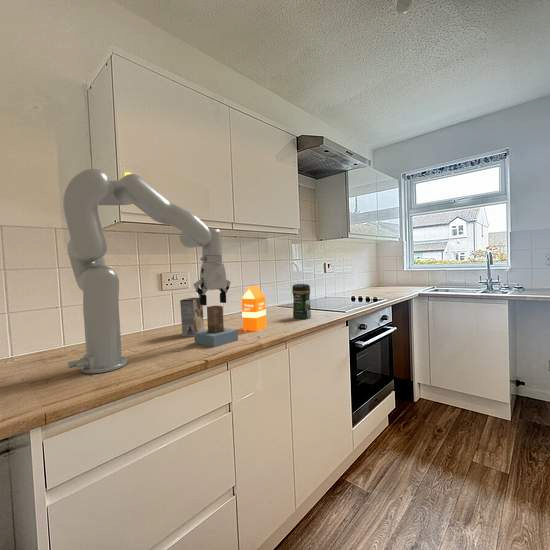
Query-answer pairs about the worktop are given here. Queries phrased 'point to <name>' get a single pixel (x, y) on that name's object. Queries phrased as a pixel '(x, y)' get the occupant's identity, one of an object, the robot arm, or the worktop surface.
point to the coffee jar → (301, 301)
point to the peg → (215, 319)
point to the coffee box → (191, 316)
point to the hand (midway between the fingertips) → (213, 303)
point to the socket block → (216, 337)
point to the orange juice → (253, 309)
